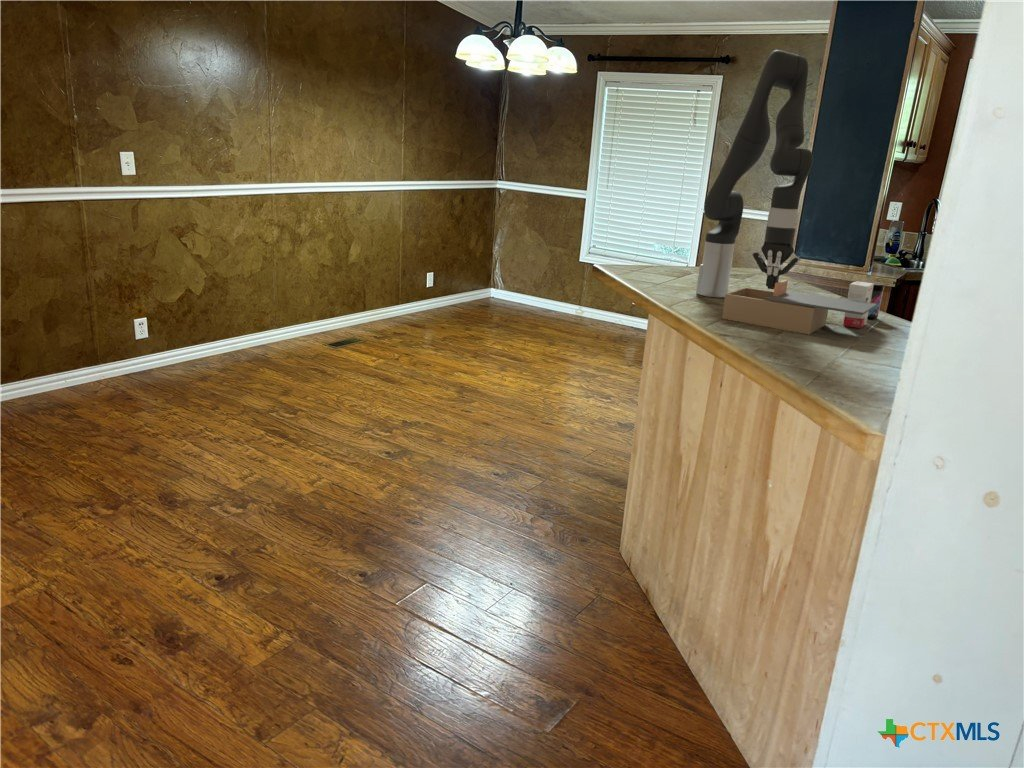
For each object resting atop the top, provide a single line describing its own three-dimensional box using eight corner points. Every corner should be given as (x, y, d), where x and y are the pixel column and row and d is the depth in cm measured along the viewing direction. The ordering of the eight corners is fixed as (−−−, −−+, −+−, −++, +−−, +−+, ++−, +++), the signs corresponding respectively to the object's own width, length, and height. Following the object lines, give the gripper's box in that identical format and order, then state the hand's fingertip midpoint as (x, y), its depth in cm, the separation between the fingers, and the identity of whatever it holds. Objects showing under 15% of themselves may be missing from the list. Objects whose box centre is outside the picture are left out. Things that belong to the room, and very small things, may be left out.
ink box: (860, 329, 202) (868, 286, 199) (841, 325, 205) (849, 284, 202) (867, 324, 209) (875, 283, 206) (848, 321, 212) (856, 280, 208)
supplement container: (854, 318, 216) (861, 283, 213) (851, 314, 222) (857, 280, 219) (879, 321, 214) (887, 285, 211) (875, 316, 220) (882, 282, 217)
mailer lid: (766, 299, 197) (768, 284, 196) (784, 292, 210) (787, 278, 209) (862, 315, 184) (865, 298, 183) (876, 306, 196) (879, 291, 195)
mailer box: (721, 318, 206) (725, 294, 204) (741, 310, 218) (745, 287, 216) (809, 334, 193) (814, 308, 191) (825, 324, 205) (830, 300, 203)
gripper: (752, 223, 199) (743, 286, 205) (802, 228, 192) (791, 294, 197) (761, 222, 205) (752, 283, 210) (810, 227, 198) (799, 290, 203)
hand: (771, 288), depth 204 cm, fingers closed
